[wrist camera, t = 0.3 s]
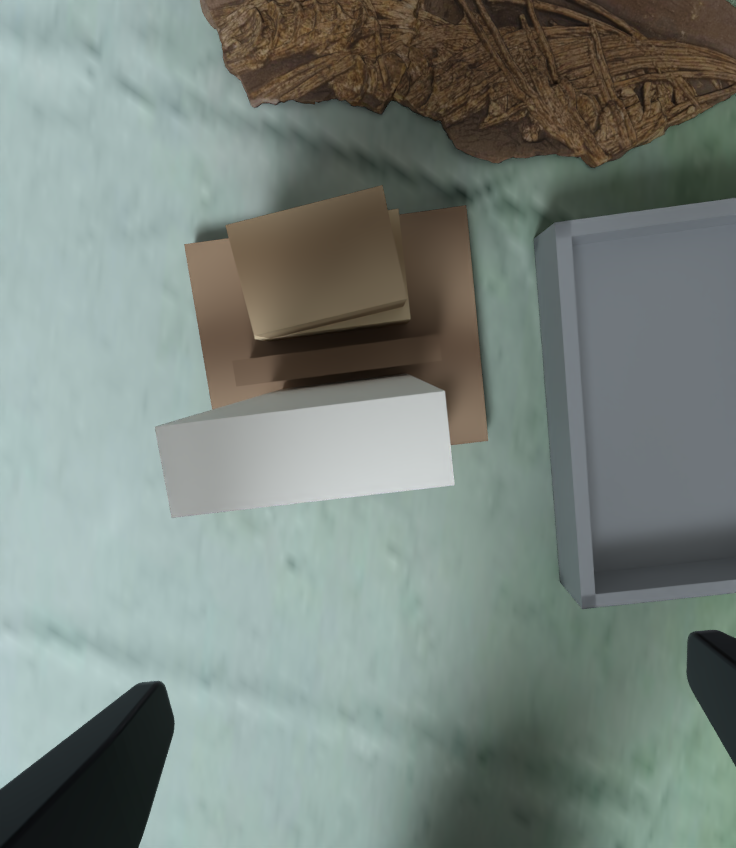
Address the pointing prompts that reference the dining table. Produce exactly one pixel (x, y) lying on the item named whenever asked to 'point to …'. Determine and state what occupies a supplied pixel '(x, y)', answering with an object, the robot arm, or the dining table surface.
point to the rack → (363, 349)
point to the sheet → (308, 446)
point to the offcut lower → (369, 321)
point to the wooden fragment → (493, 65)
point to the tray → (642, 401)
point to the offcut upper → (318, 263)
